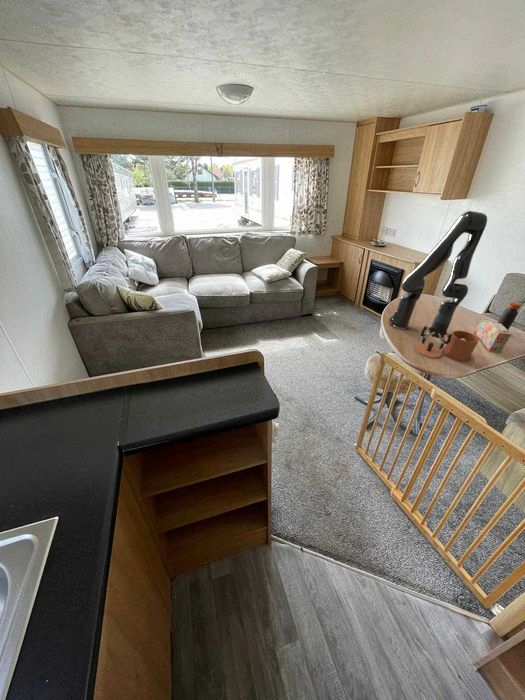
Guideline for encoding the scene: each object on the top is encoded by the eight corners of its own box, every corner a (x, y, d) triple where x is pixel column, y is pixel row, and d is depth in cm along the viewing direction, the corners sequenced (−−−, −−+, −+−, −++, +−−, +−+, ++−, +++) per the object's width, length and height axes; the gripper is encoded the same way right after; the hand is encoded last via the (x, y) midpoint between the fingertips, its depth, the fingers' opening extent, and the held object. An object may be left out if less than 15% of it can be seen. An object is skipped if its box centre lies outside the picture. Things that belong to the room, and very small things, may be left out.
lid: (412, 352, 162) (415, 343, 158) (418, 342, 170) (421, 334, 167) (438, 361, 155) (442, 353, 152) (443, 351, 164) (447, 342, 161)
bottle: (506, 332, 184) (523, 304, 173) (504, 336, 180) (522, 307, 169) (493, 328, 188) (509, 300, 176) (491, 332, 184) (508, 304, 172)
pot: (441, 354, 160) (450, 336, 154) (446, 345, 169) (454, 328, 162) (466, 363, 154) (477, 345, 147) (470, 353, 162) (480, 335, 156)
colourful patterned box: (474, 332, 183) (483, 315, 176) (484, 333, 182) (494, 316, 175) (488, 350, 166) (499, 332, 159) (500, 352, 165) (512, 334, 158)
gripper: (458, 321, 150) (446, 347, 159) (429, 313, 157) (419, 339, 166) (456, 327, 145) (444, 353, 154) (426, 318, 152) (416, 344, 161)
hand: (431, 346), depth 160 cm, fingers open, 8 cm apart
